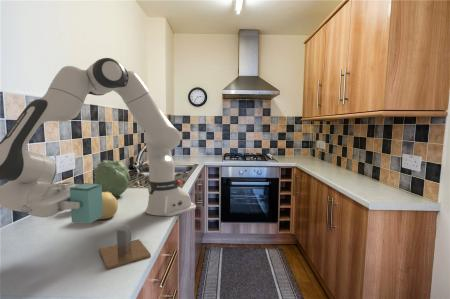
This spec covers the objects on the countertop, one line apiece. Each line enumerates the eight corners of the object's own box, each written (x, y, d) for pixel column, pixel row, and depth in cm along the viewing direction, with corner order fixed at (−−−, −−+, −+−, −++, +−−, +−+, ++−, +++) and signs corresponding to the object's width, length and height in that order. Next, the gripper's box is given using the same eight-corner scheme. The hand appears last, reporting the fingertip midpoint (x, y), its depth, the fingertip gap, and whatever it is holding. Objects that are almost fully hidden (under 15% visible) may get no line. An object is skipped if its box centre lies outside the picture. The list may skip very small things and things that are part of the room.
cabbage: (126, 200, 130) (125, 162, 128) (88, 201, 129) (86, 162, 127) (134, 192, 145) (133, 157, 143) (100, 192, 144) (99, 157, 142)
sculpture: (106, 210, 115) (105, 187, 114) (123, 215, 109) (122, 191, 108) (81, 218, 105) (79, 193, 104) (98, 224, 99) (97, 197, 98)
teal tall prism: (86, 214, 78) (84, 183, 77) (103, 216, 77) (101, 184, 76) (71, 221, 73) (69, 187, 72) (89, 223, 72) (87, 188, 71)
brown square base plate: (115, 239, 86) (115, 216, 86) (162, 243, 84) (162, 220, 83) (79, 266, 70) (77, 238, 69) (136, 273, 67) (135, 244, 66)
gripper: (14, 198, 66) (60, 201, 64) (73, 180, 86) (110, 182, 84) (16, 221, 67) (61, 225, 64) (75, 198, 87) (111, 201, 84)
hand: (89, 201), depth 74 cm, fingers closed on teal tall prism, 6 cm apart
